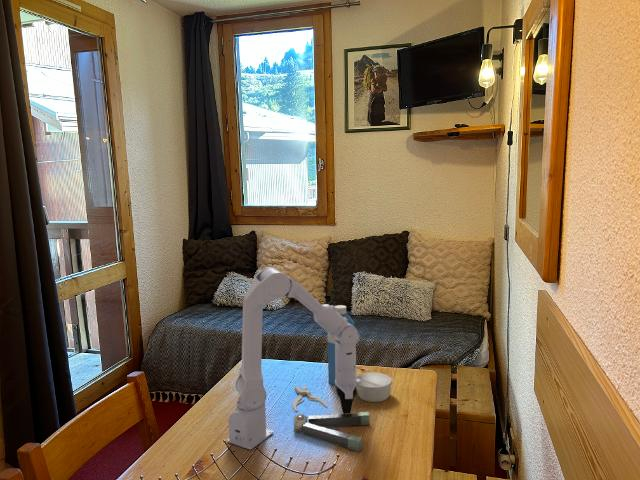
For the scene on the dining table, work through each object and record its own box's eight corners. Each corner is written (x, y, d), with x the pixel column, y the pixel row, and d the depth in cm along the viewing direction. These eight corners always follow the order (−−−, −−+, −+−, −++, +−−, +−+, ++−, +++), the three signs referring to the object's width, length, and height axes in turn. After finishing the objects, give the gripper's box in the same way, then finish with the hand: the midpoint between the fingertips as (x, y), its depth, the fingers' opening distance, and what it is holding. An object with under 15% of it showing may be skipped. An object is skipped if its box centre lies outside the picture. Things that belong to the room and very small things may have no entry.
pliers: (294, 408, 136) (284, 387, 151) (294, 413, 136) (284, 392, 151) (327, 403, 139) (315, 383, 153) (328, 408, 139) (315, 387, 153)
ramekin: (353, 403, 141) (353, 386, 141) (357, 387, 152) (357, 371, 152) (391, 405, 139) (391, 388, 139) (392, 389, 150) (392, 373, 150)
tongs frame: (358, 452, 115) (358, 438, 114) (290, 431, 126) (289, 418, 125) (366, 444, 118) (366, 430, 118) (298, 425, 129) (298, 411, 129)
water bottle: (348, 373, 163) (347, 302, 161) (360, 383, 155) (359, 308, 152) (323, 377, 160) (321, 305, 157) (334, 388, 151) (332, 311, 149)
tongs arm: (369, 424, 128) (369, 415, 127) (308, 427, 127) (308, 418, 127) (368, 420, 130) (368, 411, 129) (308, 423, 129) (308, 414, 129)
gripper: (364, 375, 124) (364, 424, 125) (356, 355, 138) (357, 400, 140) (337, 376, 124) (338, 426, 125) (332, 356, 138) (333, 401, 139)
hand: (346, 412), depth 132 cm, fingers closed
